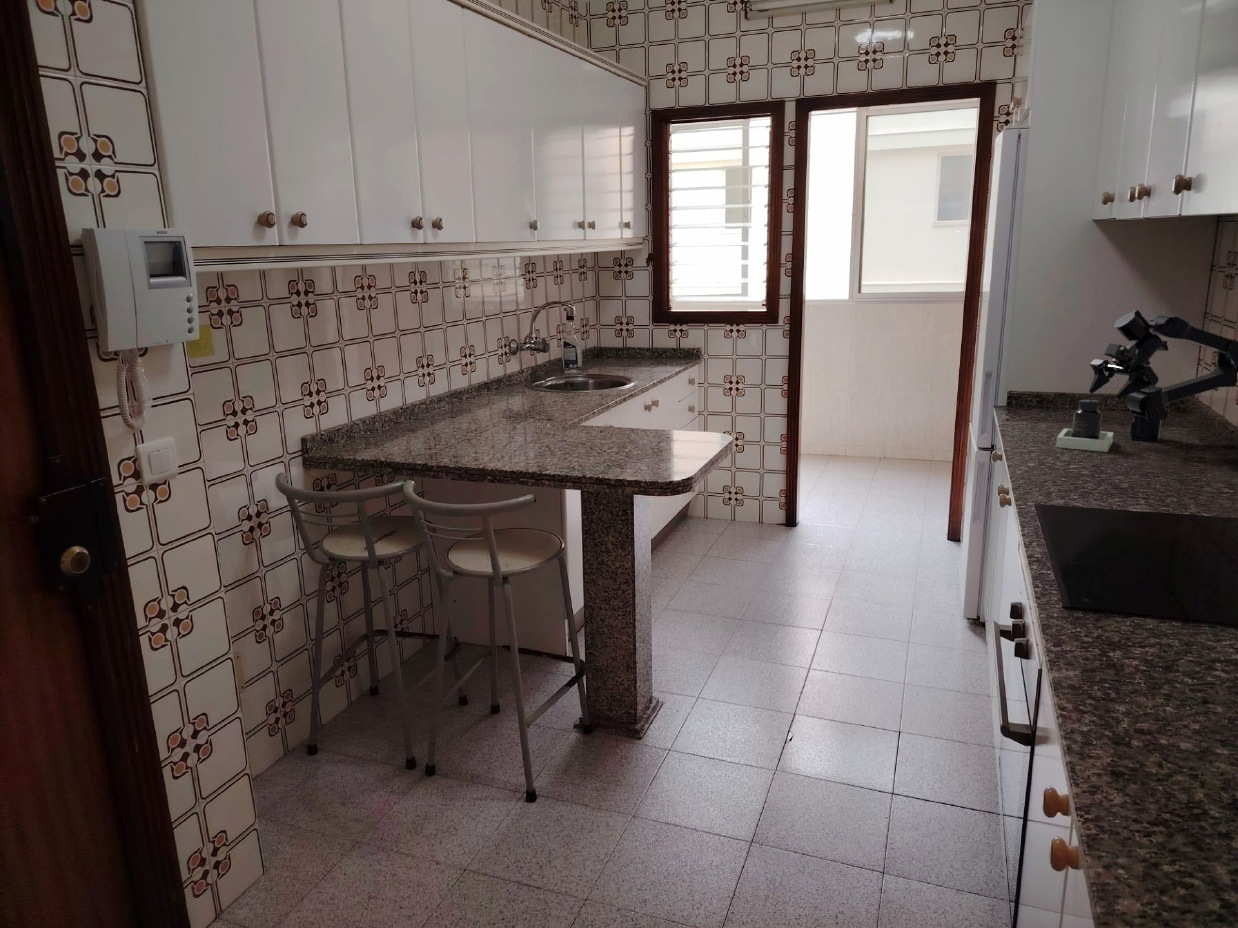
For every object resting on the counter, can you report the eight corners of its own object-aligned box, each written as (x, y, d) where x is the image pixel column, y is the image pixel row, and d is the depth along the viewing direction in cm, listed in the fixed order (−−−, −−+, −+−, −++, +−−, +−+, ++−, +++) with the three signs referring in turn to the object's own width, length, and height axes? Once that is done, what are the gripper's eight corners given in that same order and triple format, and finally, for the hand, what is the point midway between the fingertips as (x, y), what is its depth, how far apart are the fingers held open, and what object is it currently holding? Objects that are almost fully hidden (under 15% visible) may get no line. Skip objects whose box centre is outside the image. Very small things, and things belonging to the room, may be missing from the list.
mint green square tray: (1112, 442, 237) (1113, 432, 236) (1107, 451, 227) (1108, 441, 227) (1063, 438, 244) (1063, 428, 243) (1056, 447, 234) (1057, 436, 234)
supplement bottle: (1103, 445, 232) (1108, 402, 229) (1078, 446, 232) (1083, 403, 229) (1090, 440, 239) (1095, 398, 236) (1066, 441, 239) (1070, 399, 236)
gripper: (1099, 330, 239) (1062, 371, 239) (1155, 336, 222) (1116, 381, 222) (1118, 356, 243) (1082, 397, 243) (1175, 364, 226) (1136, 408, 226)
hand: (1103, 395), depth 234 cm, fingers open, 9 cm apart
